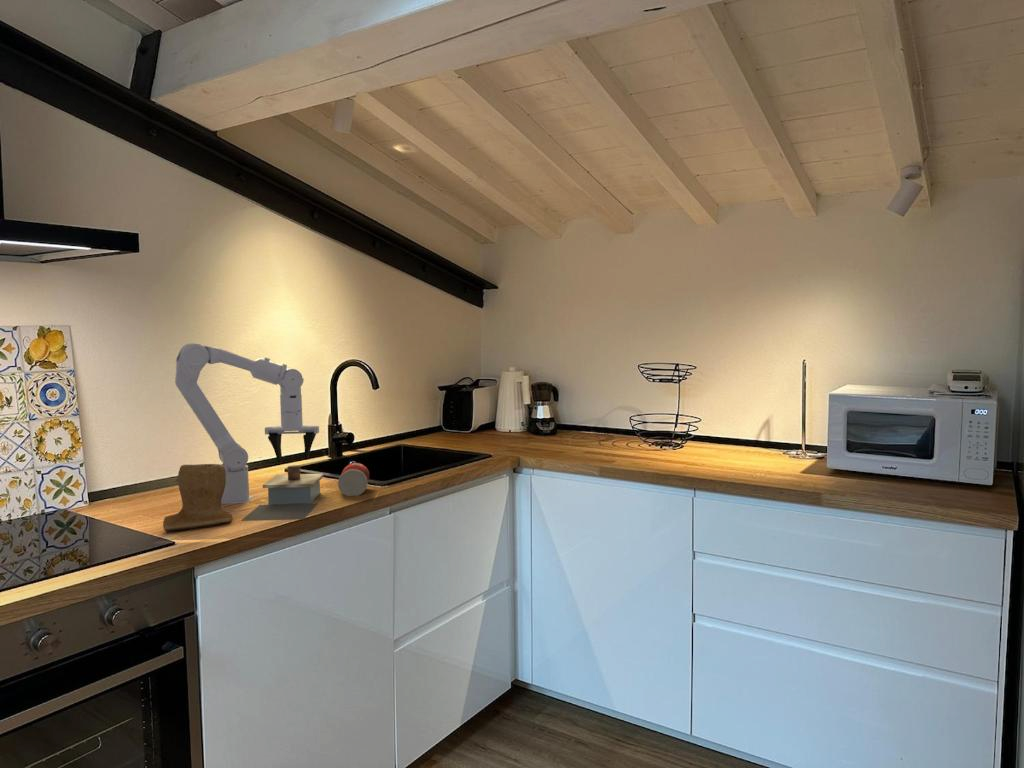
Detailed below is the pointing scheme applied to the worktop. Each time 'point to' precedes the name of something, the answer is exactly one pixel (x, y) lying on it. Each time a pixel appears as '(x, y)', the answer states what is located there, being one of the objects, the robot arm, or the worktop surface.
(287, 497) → the gray lidded box
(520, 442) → the worktop surface
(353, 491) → the canned food
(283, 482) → the birch lid
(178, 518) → the brown flared stand
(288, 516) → the rubber mat
